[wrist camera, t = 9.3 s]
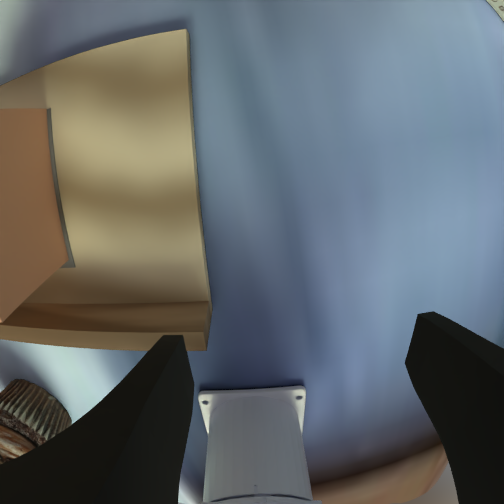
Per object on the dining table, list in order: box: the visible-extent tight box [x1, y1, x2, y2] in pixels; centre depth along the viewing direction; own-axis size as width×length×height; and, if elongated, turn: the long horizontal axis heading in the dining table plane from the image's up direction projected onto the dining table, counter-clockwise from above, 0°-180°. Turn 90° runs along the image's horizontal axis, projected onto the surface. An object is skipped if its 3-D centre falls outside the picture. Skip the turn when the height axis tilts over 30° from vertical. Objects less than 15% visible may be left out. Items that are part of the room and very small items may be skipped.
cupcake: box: [0, 379, 72, 464], centre depth 19 cm, size 10×10×10 cm
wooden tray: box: [0, 29, 213, 351], centre depth 14 cm, size 16×18×4 cm
